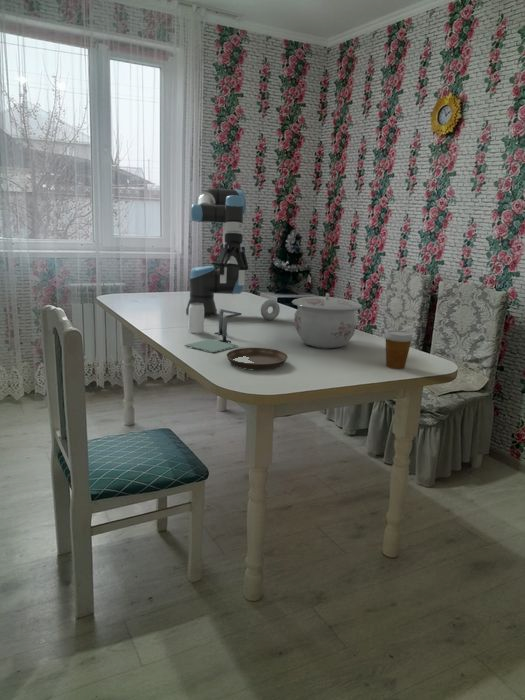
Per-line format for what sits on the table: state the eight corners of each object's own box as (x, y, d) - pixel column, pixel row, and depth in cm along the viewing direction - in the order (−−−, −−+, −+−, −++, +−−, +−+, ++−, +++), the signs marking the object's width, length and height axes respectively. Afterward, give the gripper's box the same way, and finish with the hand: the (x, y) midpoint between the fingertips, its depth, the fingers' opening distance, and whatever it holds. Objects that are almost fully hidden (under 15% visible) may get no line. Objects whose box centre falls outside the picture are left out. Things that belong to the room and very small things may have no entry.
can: (199, 334, 221) (200, 305, 218) (185, 332, 223) (185, 303, 220) (206, 331, 227) (207, 303, 224) (192, 329, 229) (193, 301, 226)
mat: (184, 346, 200) (184, 344, 199) (209, 340, 211) (209, 339, 211) (213, 353, 192) (213, 351, 192) (237, 346, 203) (237, 345, 203)
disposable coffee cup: (377, 362, 190) (381, 329, 187) (404, 363, 191) (407, 330, 188) (386, 370, 181) (389, 335, 178) (413, 370, 182) (417, 336, 179)
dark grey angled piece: (198, 338, 214) (198, 312, 212) (220, 333, 225) (220, 308, 223) (225, 343, 207) (225, 317, 204) (246, 338, 218) (247, 313, 215)
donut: (277, 319, 262) (278, 298, 260) (280, 320, 259) (281, 299, 257) (258, 319, 258) (259, 299, 255) (262, 321, 255) (263, 300, 252)
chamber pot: (313, 355, 195) (317, 299, 190) (276, 339, 219) (279, 288, 214) (374, 350, 208) (379, 297, 203) (333, 335, 232) (337, 287, 227)
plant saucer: (239, 375, 168) (239, 364, 168) (217, 358, 187) (218, 349, 186) (297, 370, 177) (298, 360, 176) (271, 354, 195) (272, 346, 194)
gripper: (223, 228, 214) (222, 282, 215) (257, 237, 235) (255, 286, 236) (208, 229, 217) (207, 282, 219) (242, 238, 239) (241, 286, 240)
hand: (232, 284), depth 227 cm, fingers open, 13 cm apart
